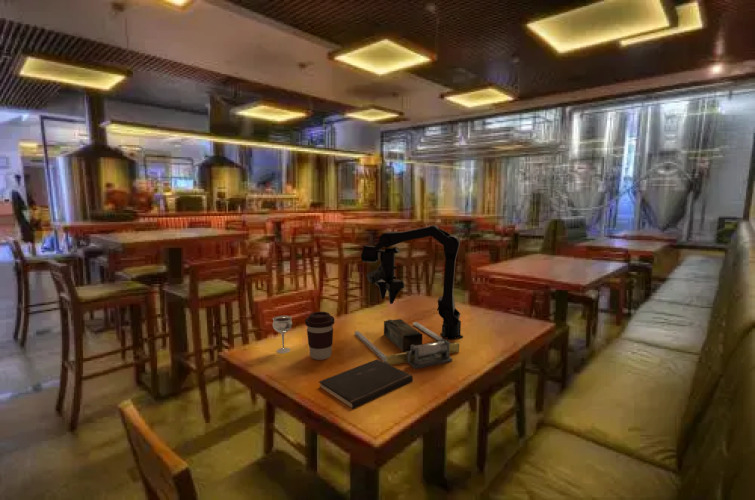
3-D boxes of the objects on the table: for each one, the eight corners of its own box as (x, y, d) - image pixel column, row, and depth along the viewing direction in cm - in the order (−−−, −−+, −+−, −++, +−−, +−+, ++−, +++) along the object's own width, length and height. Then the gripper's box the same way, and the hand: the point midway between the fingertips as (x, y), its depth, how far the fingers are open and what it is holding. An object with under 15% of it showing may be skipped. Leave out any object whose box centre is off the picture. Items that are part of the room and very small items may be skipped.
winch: (443, 355, 137) (443, 337, 136) (451, 361, 133) (452, 342, 132) (403, 363, 131) (403, 345, 130) (410, 369, 126) (411, 350, 125)
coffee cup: (339, 352, 140) (339, 311, 138) (327, 363, 131) (326, 320, 129) (314, 348, 143) (313, 308, 141) (301, 359, 134) (299, 317, 132)
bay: (416, 324, 169) (416, 317, 168) (459, 351, 140) (459, 343, 140) (354, 334, 158) (354, 327, 157) (387, 365, 129) (387, 357, 129)
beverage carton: (401, 332, 160) (401, 316, 159) (423, 350, 142) (423, 332, 141) (383, 334, 157) (383, 319, 156) (403, 353, 140) (403, 335, 139)
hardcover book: (319, 388, 116) (318, 381, 116) (377, 365, 131) (377, 358, 131) (352, 411, 104) (352, 403, 104) (412, 382, 119) (412, 375, 119)
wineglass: (269, 352, 140) (268, 320, 138) (280, 345, 146) (279, 314, 144) (286, 355, 138) (285, 322, 136) (296, 348, 144) (295, 316, 142)
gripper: (360, 260, 163) (360, 297, 166) (378, 269, 147) (378, 309, 149) (384, 259, 168) (384, 294, 170) (405, 267, 151) (404, 306, 153)
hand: (387, 301), depth 161 cm, fingers open, 8 cm apart
